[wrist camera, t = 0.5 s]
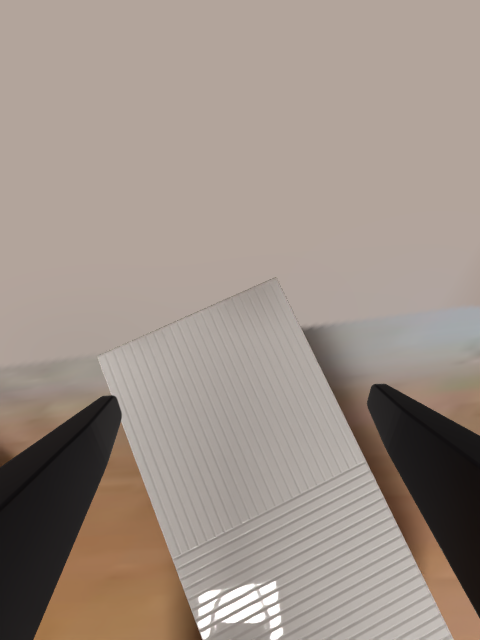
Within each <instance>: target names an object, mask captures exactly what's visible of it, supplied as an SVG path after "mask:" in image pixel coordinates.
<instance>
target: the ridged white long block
mask: <svg viewBox="0 0 480 640" xmlns="http://www.w3.org/2000/svg"><path fill="white" fill-rule="evenodd" d="M97 358H98V360H99V363H100V366H101V368H102V371H103V374H104V376H105V379H106V382H107V385H108V387H109V390H110V393H111V395H114V396H116V397H117V400H118V403H119V406H120V409H121V412H122V419H121V422H122V425H123V428H124V430H125V433H126V436H127V438H128V441H129V444H130V446H131V449H132V452H133V455H134V457H135V460H136V463H137V465H138V468H139V471H140V473H141V476H142V479H143V481H144V484H145V487H146V490H147V492H148V495H149V498H150V500H151V503H152V506H153V508H154V511H155V514H156V516H157V519H158V522H159V524H160V527H161V530H162V533H163V535H164V538H165V541H166V543H167V546H168V549H169V551H170V554H171V557H172V559H173V562H174V565H175V568H176V570H177V573H178V576H179V578H180V581H181V584H182V586H183V589H184V592H185V594H186V597H187V600H188V603H189V605H190V608H191V611H192V613H193V616H194V619H195V621H196V624H197V627H198V629H199V632H200V635H201V638H202V640H454V639H453V637H452V635H451V633H450V631H449V629H448V627H447V625H446V623H445V621H444V619H443V617H442V615H441V613H440V611H439V609H438V607H437V605H436V602H435V600H434V598H433V596H432V594H431V592H430V590H429V588H428V586H427V584H426V582H425V580H424V578H423V576H422V574H421V572H420V570H419V568H418V566H417V564H416V562H415V560H414V558H413V556H412V553H411V551H410V549H409V547H408V545H407V543H406V541H405V539H404V537H403V535H402V533H401V531H400V529H399V527H398V525H397V523H396V521H395V519H394V517H393V515H392V513H391V511H390V509H389V507H388V504H387V502H386V500H385V498H384V496H383V494H382V492H381V490H380V488H379V486H378V484H377V482H376V480H375V478H374V476H373V474H372V472H371V470H370V468H369V466H368V464H367V462H366V460H365V457H364V455H363V453H362V451H361V449H360V447H359V445H358V443H357V441H356V439H355V437H354V435H353V433H352V431H351V429H350V427H349V425H348V423H347V421H346V419H345V417H344V415H343V413H342V411H341V408H340V406H339V404H338V402H337V400H336V398H335V396H334V394H333V392H332V390H331V388H330V386H329V384H328V382H327V380H326V378H325V376H324V374H323V372H322V370H321V368H320V366H319V364H318V362H317V359H316V357H315V355H314V353H313V351H312V349H311V347H310V345H309V343H308V341H307V339H306V337H305V335H304V333H303V331H302V329H301V327H300V325H299V323H298V321H297V319H296V317H295V315H294V313H293V311H292V308H291V306H290V305H289V302H288V300H287V298H286V296H285V294H284V292H283V290H282V288H281V286H280V284H279V282H278V280H277V278H276V277H275V278H273V279H270V280H268V281H266V282H264V283H261V284H259V285H257V286H254V287H252V288H250V289H248V290H245V291H243V292H241V293H239V294H237V295H234V296H232V297H230V298H227V299H225V300H223V301H221V302H219V303H216V304H214V305H211V306H209V307H207V308H205V309H203V310H200V311H198V312H196V313H193V314H191V315H189V316H187V317H184V318H182V319H180V320H177V321H175V322H173V323H171V324H168V325H166V326H164V327H162V328H159V329H157V330H155V331H153V332H150V333H148V334H146V335H143V336H141V337H139V338H137V339H134V340H132V341H130V342H128V343H125V344H123V345H121V346H119V347H116V348H114V349H112V350H109V351H107V352H105V353H103V354H100V355H98V356H97Z"/></svg>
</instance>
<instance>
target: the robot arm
mask: <svg viewBox="0 0 480 640" xmlns="http://www.w3.org/2000/svg"><path fill="white" fill-rule="evenodd" d="M367 406H368V409H369V412H370V414H371V416H372V418H373V421H374V423H375V425H376V428H377V430H378V432H379V434H380V437H381V439H382V441H383V444H384V446H385V448H386V450H387V452H388V454H389V456H390V458H391V459H392V461H393V463H394V465H395V467H396V468H397V470H398V472H399V474H400V476H401V477H402V479H403V481H404V483H405V485H406V486H407V488H408V490H409V492H410V494H411V495H412V497H413V499H414V501H415V503H416V505H417V506H418V508H419V510H420V512H421V514H422V515H423V517H424V519H425V521H426V523H427V524H428V526H429V528H430V530H431V532H432V533H433V535H434V537H435V539H436V541H437V542H438V544H439V546H440V548H441V550H442V551H443V553H444V555H445V557H446V559H447V560H448V562H449V564H450V566H451V568H452V569H453V571H454V573H455V575H456V577H457V578H458V580H459V582H460V584H461V586H462V587H463V589H464V591H465V593H466V595H467V596H468V598H469V600H470V602H471V604H472V605H473V607H474V609H475V611H476V613H477V614H478V616H479V618H480V436H479V435H477V434H476V433H474V432H472V431H470V430H468V429H466V428H465V427H463V426H461V425H459V424H457V423H456V422H454V421H452V420H450V419H448V418H446V417H445V416H443V415H441V414H439V413H437V412H436V411H434V410H432V409H430V408H428V407H427V406H425V405H423V404H421V403H419V402H417V401H416V400H414V399H412V398H410V397H408V396H407V395H405V394H403V393H401V392H399V391H397V390H396V389H394V388H392V387H390V386H388V385H386V384H374V385H372V387H371V390H370V393H369V397H368V401H367ZM121 419H122V412H121V409H120V406H119V403H118V400H117V397H116V396H114V395H111V396H102V397H100V398H99V399H97V400H96V401H95V402H93V403H92V404H90V405H89V406H87V407H86V408H85V409H83V410H82V411H80V412H79V413H77V414H76V415H74V416H73V417H72V418H70V419H69V420H67V421H66V422H64V423H63V424H62V425H60V426H59V427H57V428H56V429H54V430H53V431H52V432H50V433H49V434H47V435H46V436H44V437H43V438H42V439H40V440H39V441H37V442H36V443H34V444H33V445H32V446H30V447H29V448H27V449H26V450H24V451H23V452H22V453H20V454H19V455H17V456H16V457H14V458H13V459H11V460H10V461H9V462H7V463H6V464H4V465H3V466H1V467H0V640H33V639H34V637H35V634H36V632H37V630H38V627H39V625H40V622H41V620H42V618H43V615H44V613H45V611H46V608H47V606H48V604H49V601H50V599H51V596H52V594H53V592H54V589H55V587H56V585H57V582H58V580H59V578H60V575H61V573H62V571H63V568H64V566H65V563H66V561H67V559H68V556H69V554H70V552H71V549H72V547H73V545H74V542H75V540H76V537H77V535H78V533H79V530H80V528H81V526H82V523H83V521H84V519H85V516H86V514H87V511H88V509H89V507H90V504H91V502H92V500H93V497H94V495H95V493H96V490H97V488H98V485H99V483H100V481H101V478H102V476H103V474H104V471H105V469H106V466H107V463H108V461H109V458H110V454H111V451H112V448H113V445H114V442H115V438H116V435H117V432H118V429H119V426H120V422H121Z"/></svg>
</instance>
